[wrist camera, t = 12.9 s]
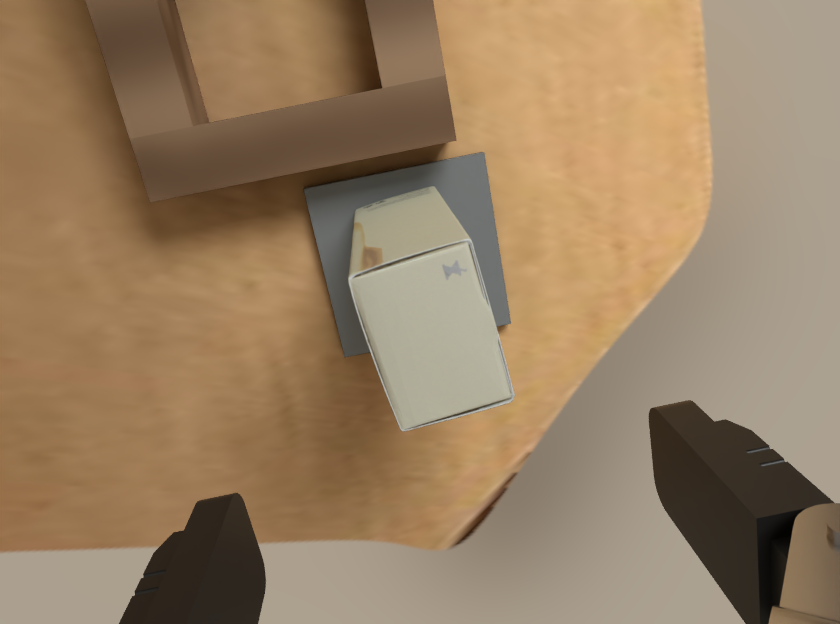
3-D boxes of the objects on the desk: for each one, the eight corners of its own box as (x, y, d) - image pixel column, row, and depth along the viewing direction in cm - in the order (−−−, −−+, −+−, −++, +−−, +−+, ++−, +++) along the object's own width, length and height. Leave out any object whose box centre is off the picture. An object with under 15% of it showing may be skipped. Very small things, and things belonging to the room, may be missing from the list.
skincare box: (351, 208, 32) (338, 267, 21) (436, 182, 32) (470, 226, 20) (390, 325, 34) (398, 439, 23) (469, 301, 34) (519, 403, 22)
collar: (69, -132, 28) (34, -160, 25) (392, -197, 28) (394, -231, 25) (170, 193, 32) (150, 202, 29) (449, 137, 32) (456, 140, 29)
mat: (304, 187, 32) (303, 189, 32) (482, 151, 32) (484, 152, 32) (345, 353, 35) (344, 357, 35) (508, 320, 35) (510, 323, 35)
